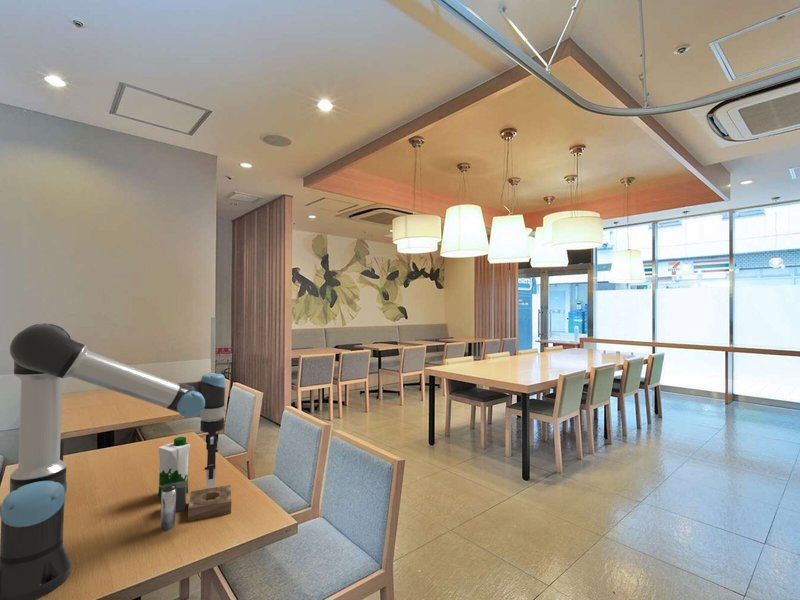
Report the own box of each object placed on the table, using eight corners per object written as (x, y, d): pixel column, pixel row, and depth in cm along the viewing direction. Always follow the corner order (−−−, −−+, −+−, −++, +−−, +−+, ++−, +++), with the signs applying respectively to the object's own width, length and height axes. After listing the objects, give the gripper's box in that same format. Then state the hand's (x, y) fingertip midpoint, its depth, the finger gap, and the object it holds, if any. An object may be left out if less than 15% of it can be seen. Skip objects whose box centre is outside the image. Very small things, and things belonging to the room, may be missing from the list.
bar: (184, 510, 135) (185, 486, 135) (167, 513, 133) (168, 489, 133) (185, 503, 140) (186, 480, 140) (169, 506, 138) (170, 483, 138)
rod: (174, 528, 124) (175, 487, 124) (159, 531, 122) (160, 489, 122) (175, 522, 127) (176, 482, 128) (161, 525, 126) (162, 484, 126)
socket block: (231, 512, 134) (231, 501, 134) (187, 520, 128) (188, 508, 128) (230, 495, 146) (230, 484, 146) (190, 502, 140) (190, 491, 140)
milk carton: (192, 491, 148) (193, 438, 148) (168, 502, 140) (169, 446, 140) (177, 486, 152) (179, 434, 153) (153, 496, 144) (155, 441, 145)
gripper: (224, 427, 128) (223, 493, 127) (224, 408, 150) (222, 464, 150) (198, 430, 125) (197, 497, 124) (202, 410, 147) (200, 467, 147)
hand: (211, 479), depth 137 cm, fingers open, 13 cm apart
